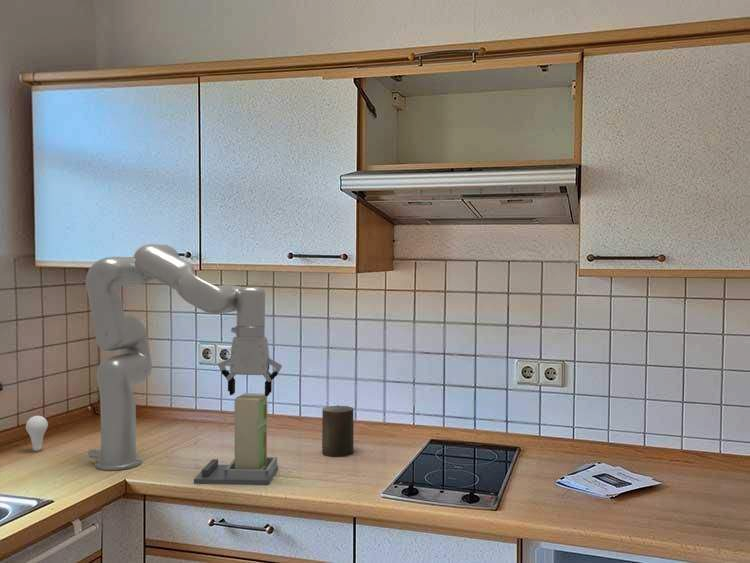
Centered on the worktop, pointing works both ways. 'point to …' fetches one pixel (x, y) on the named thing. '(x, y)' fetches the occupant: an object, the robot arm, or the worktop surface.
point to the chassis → (236, 474)
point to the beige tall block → (251, 431)
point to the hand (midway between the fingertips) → (249, 394)
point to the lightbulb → (36, 430)
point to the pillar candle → (337, 431)
